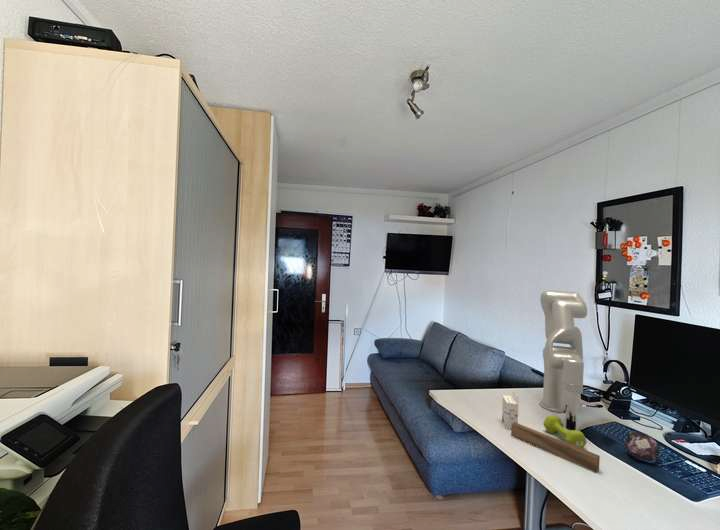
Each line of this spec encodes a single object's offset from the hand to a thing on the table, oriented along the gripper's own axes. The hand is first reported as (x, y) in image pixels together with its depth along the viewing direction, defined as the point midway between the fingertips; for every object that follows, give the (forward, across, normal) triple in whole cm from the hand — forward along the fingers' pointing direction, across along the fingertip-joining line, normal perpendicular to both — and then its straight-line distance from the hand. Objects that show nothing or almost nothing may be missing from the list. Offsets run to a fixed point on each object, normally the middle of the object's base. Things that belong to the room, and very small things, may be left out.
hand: (570, 429), depth 139 cm
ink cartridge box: (+2, +14, -20) cm, 24 cm away
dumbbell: (+3, +8, 0) cm, 8 cm away
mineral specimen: (+3, -2, +23) cm, 23 cm away
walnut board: (+2, +21, 0) cm, 21 cm away
